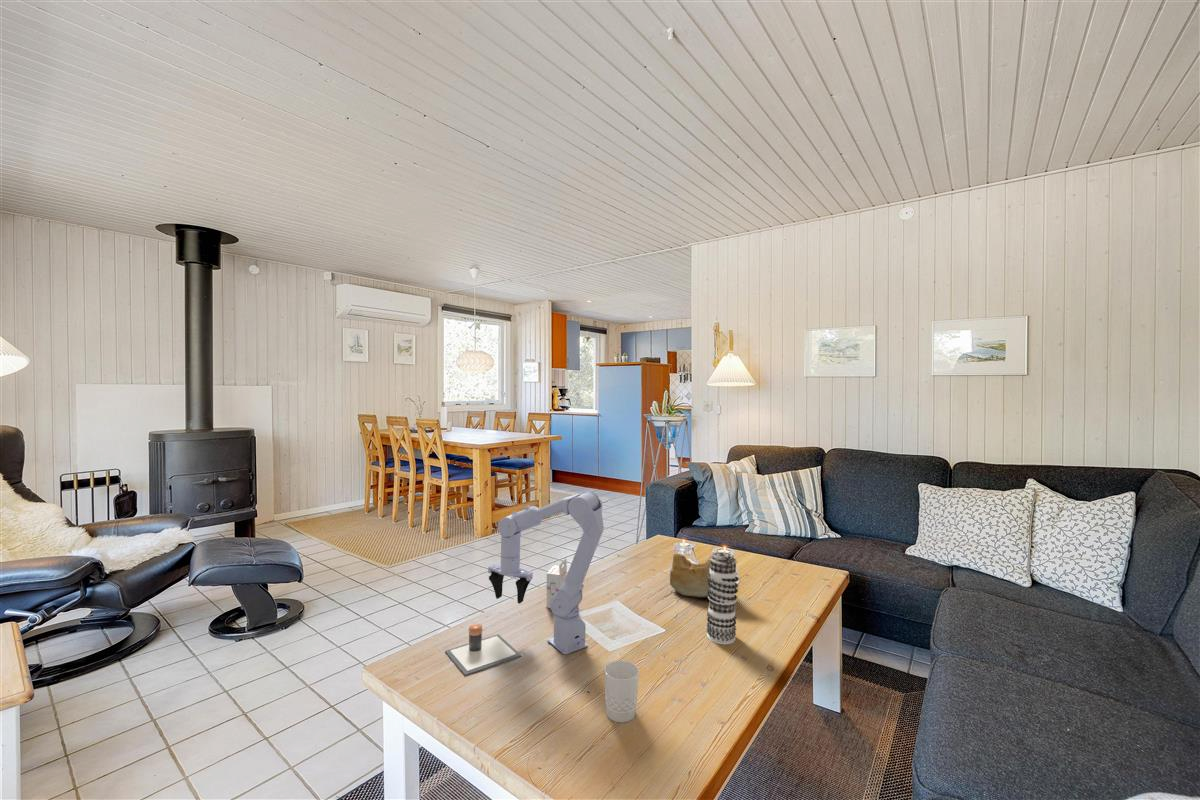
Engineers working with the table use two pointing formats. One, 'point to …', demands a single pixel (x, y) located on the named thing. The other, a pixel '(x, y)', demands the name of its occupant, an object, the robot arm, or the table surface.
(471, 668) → the writing pad
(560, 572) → the ink cartridge box
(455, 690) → the table surface
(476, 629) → the orange-topped grey cylinder
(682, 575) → the rough brown rock
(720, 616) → the decorative candle
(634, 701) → the white cup
